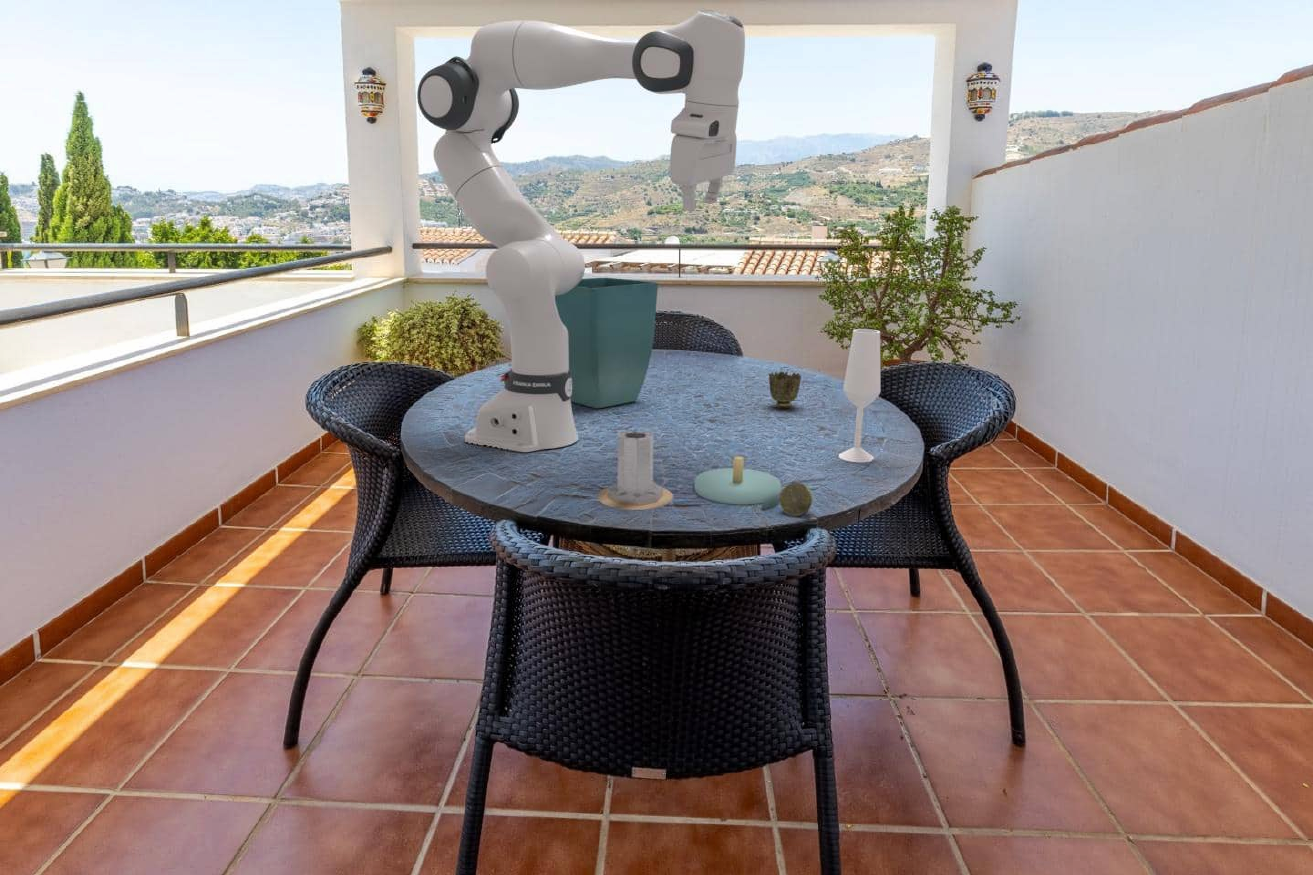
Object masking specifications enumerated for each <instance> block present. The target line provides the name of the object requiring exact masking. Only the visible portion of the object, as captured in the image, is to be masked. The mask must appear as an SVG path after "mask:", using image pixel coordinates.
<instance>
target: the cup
mask: <svg viewBox="0 0 1313 875" xmlns="http://www.w3.org/2000/svg"><path fill="white" fill-rule="evenodd" d="M801 380H802V375H801V374H800V373H799V372H797V373H795V372H793V373H792V374H788V372H787V371H786V372H784V371H783V370H781V371H779V372H777V371H775V372H774V373H773V372H770V373H768V381H769V382H768V383H769V392H770V396H771V398H772V399H773V400H774V401H776V402H775V407H776V408H777V409H781V410H787V409H790V408H791V407H792V402H793V401H794V400H796V399H797V397H798V394H799V390H800V385H801Z"/></svg>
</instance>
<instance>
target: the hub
mask: <svg viewBox="0 0 1313 875" xmlns="http://www.w3.org/2000/svg"><path fill="white" fill-rule="evenodd" d="M732 466H733V467H730V468H729V467H727V468H726V467H725V468H724V467H722V468H717V469H711V470H706V471H704V472H701V473H699V474H698V475H697V476H695V478H694V491H695V493H697V495H699V496H700V497H702V498H704V499H707V500H710V501H713V502H717V503H721V504H728V505H757V504H762V503H763V504H762V505H761V507H760V511H762V510H766V509H770V508H772V507H774V506H776V505H777V504H778V503H779V504H780V494H781V492H782V489H781V488H782V483H781V480H780V479H779V478H778V477H776V476H775V475H773V474H771V473H767V472H765V471H761V470H756V469H751V468H750V469H749V468H744V457H742V456H734V457H733V465H732Z"/></svg>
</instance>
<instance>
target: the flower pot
mask: <svg viewBox="0 0 1313 875" xmlns="http://www.w3.org/2000/svg"><path fill="white" fill-rule="evenodd" d="M658 288H659V282H658V281H657V282H656V281H647V280H638V279H628V278H627V279H626V278H617V277H616V278H615V277H587V278H582V280H581V281H580V282H579V284H577V285H576V286H575V287H574V288H573V289H571V290H570V291H568V292H567V293H565V294H562V295H557V296H555V302H556V306H557V310H558V314H559V317H560V319H561V321H562V323H563V324H564V325H565V326H566V328H567V330H568V339H569V369H570V370H571V378H572V397H571V403H575V404H579V405H583V406H586V407H589V408H593V409H602V408H608V407H612V406H617V405H623V404H626V403H631V402H632V403H633V402H636V401H637V400H638V398H639V395H640V393H641V390H642V388H643V385H644V382H645V379H646V376H647V372H648V368H649V364H650V360H651V356H652V350H653V345H654V340H655V339H654V338H655V325H656V314H657V313H656V312H657V298H658Z"/></svg>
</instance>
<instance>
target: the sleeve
mask: <svg viewBox="0 0 1313 875" xmlns="http://www.w3.org/2000/svg"><path fill="white" fill-rule="evenodd" d="M609 487H610V488H609V489H608V490H607V497H608V498H610V499H611V500H613V501H614V502H616V503H617V504H626V505H635V506H640V505H645V504H650V503H656V502H658V501H659V500H660V498H661V497H662V496H663V488H664V487H662V486H661V485H659V484H658V483H655V482H654V434H653V433H650V432H648V431H641V430H629V431H628V430H627V431H623V432H622V431H621V432H620V433H619V434H618V435H617V482H614V483H612V484H611V486H609Z"/></svg>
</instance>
